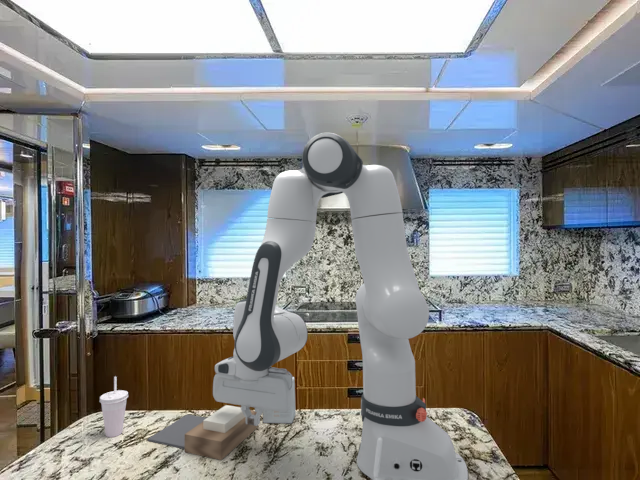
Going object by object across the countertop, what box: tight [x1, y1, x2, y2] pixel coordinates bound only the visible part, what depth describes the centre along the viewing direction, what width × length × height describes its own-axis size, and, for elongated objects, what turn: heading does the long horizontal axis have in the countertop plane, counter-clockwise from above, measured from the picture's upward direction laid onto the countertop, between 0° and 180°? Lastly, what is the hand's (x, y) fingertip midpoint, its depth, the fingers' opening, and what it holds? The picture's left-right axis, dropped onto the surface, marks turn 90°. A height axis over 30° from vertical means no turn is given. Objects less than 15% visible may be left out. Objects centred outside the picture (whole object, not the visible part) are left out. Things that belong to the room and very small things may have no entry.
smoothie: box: [98, 376, 129, 438], centre depth 94 cm, size 6×6×14 cm
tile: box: [203, 404, 245, 433], centre depth 90 cm, size 6×9×2 cm, turn 159°
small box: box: [262, 376, 296, 424], centre depth 100 cm, size 8×6×10 cm
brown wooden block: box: [184, 409, 260, 461], centre depth 90 cm, size 10×16×4 cm, turn 159°
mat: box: [147, 414, 207, 450], centre depth 94 cm, size 12×14×1 cm
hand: (252, 424), depth 87 cm, fingers closed
